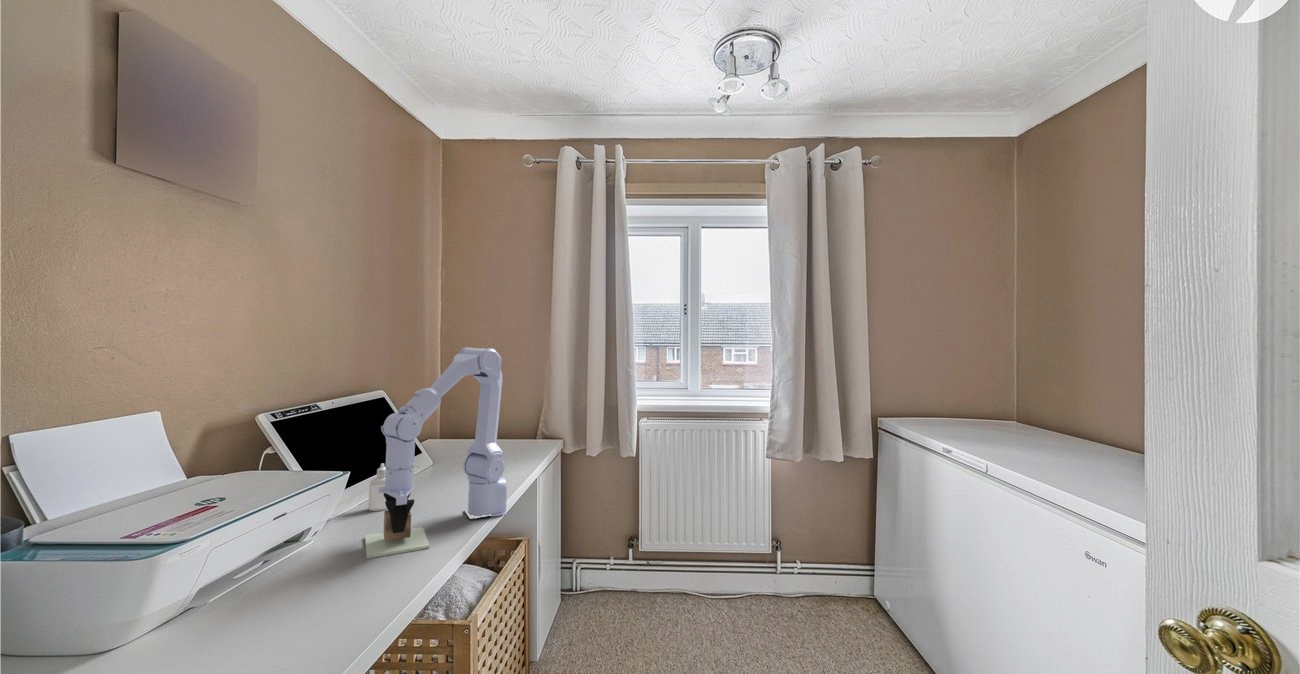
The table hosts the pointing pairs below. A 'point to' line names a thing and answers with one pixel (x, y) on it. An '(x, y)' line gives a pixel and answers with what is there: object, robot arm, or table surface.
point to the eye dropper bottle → (377, 491)
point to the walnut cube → (389, 532)
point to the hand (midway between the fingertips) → (397, 527)
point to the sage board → (395, 543)
